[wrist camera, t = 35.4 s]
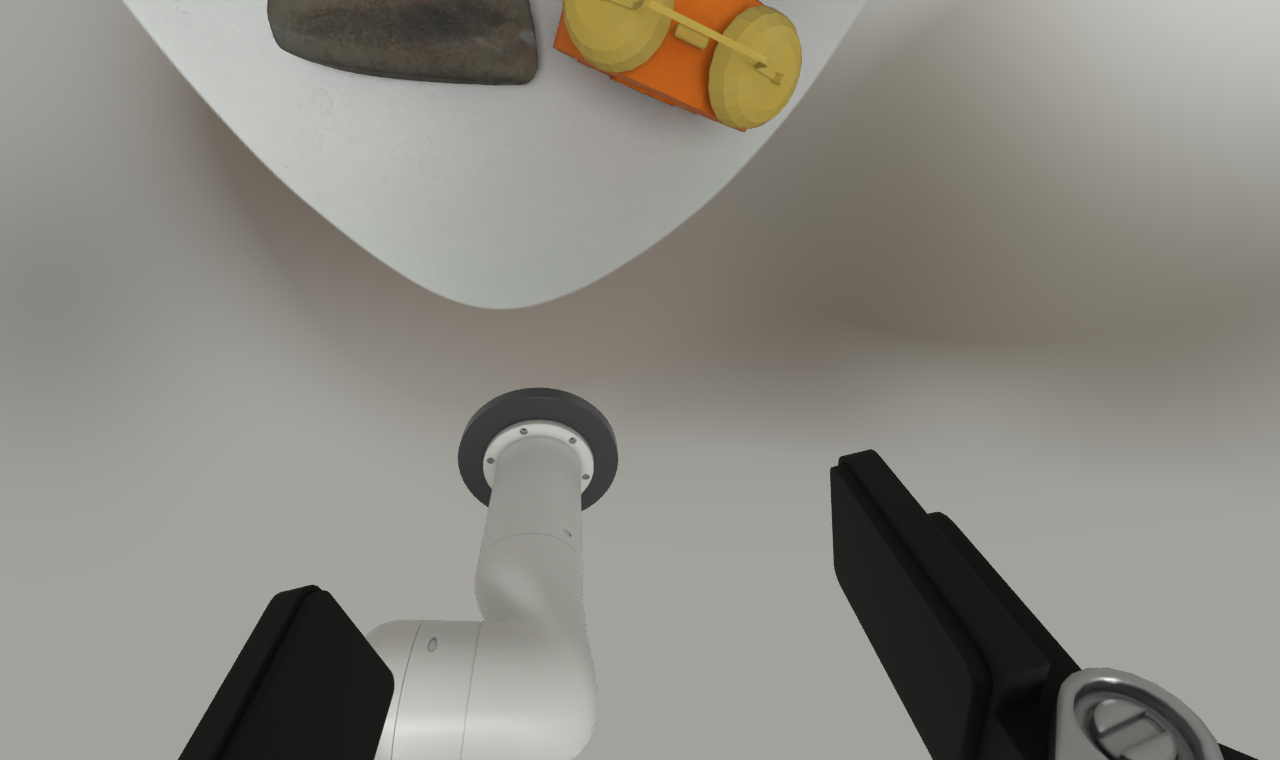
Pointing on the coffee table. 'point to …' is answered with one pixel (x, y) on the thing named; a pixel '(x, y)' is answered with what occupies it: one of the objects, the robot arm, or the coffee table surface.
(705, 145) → the coffee table surface
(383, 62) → the decorative stone
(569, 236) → the coffee table surface
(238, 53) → the coffee table surface
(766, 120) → the alarm clock
